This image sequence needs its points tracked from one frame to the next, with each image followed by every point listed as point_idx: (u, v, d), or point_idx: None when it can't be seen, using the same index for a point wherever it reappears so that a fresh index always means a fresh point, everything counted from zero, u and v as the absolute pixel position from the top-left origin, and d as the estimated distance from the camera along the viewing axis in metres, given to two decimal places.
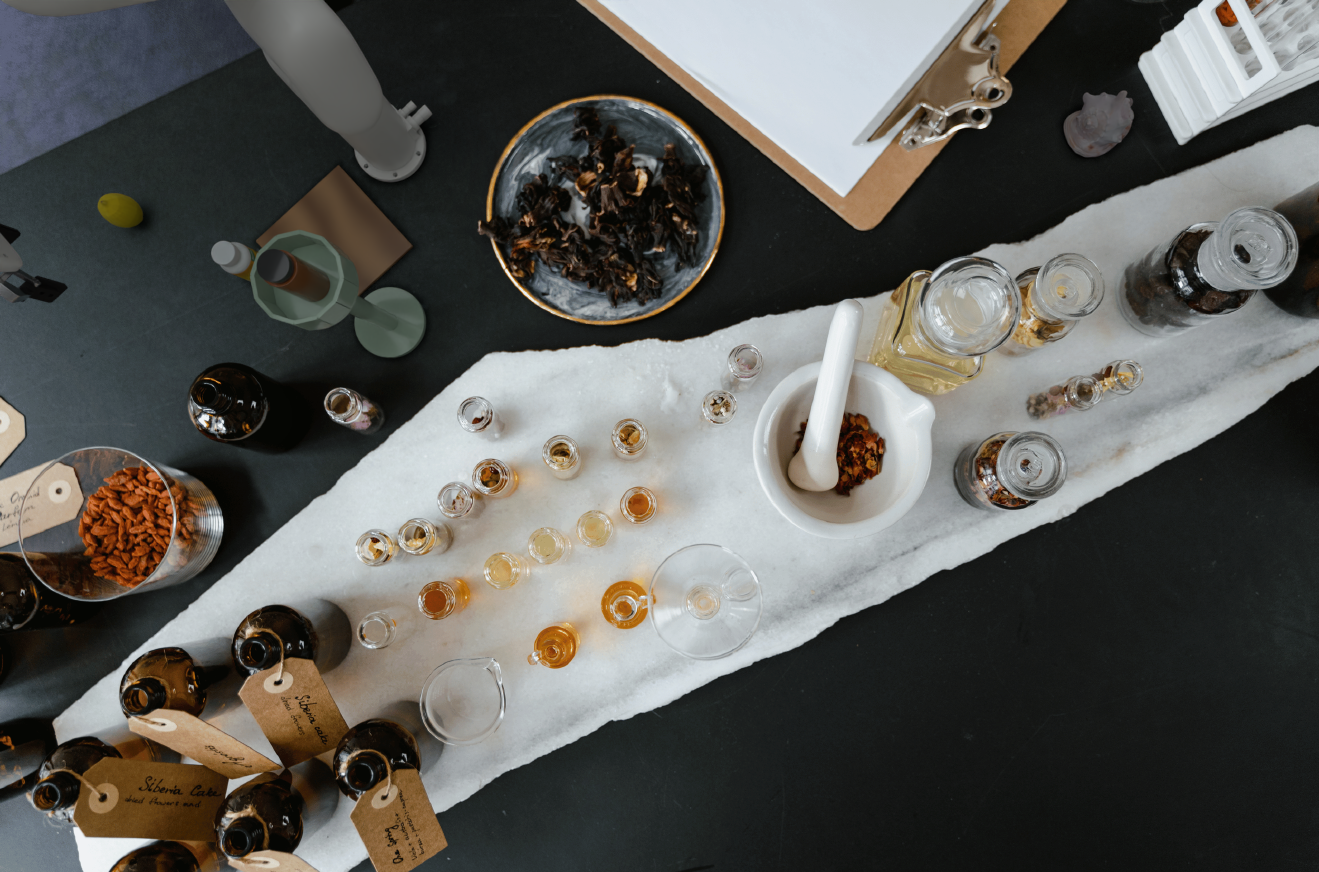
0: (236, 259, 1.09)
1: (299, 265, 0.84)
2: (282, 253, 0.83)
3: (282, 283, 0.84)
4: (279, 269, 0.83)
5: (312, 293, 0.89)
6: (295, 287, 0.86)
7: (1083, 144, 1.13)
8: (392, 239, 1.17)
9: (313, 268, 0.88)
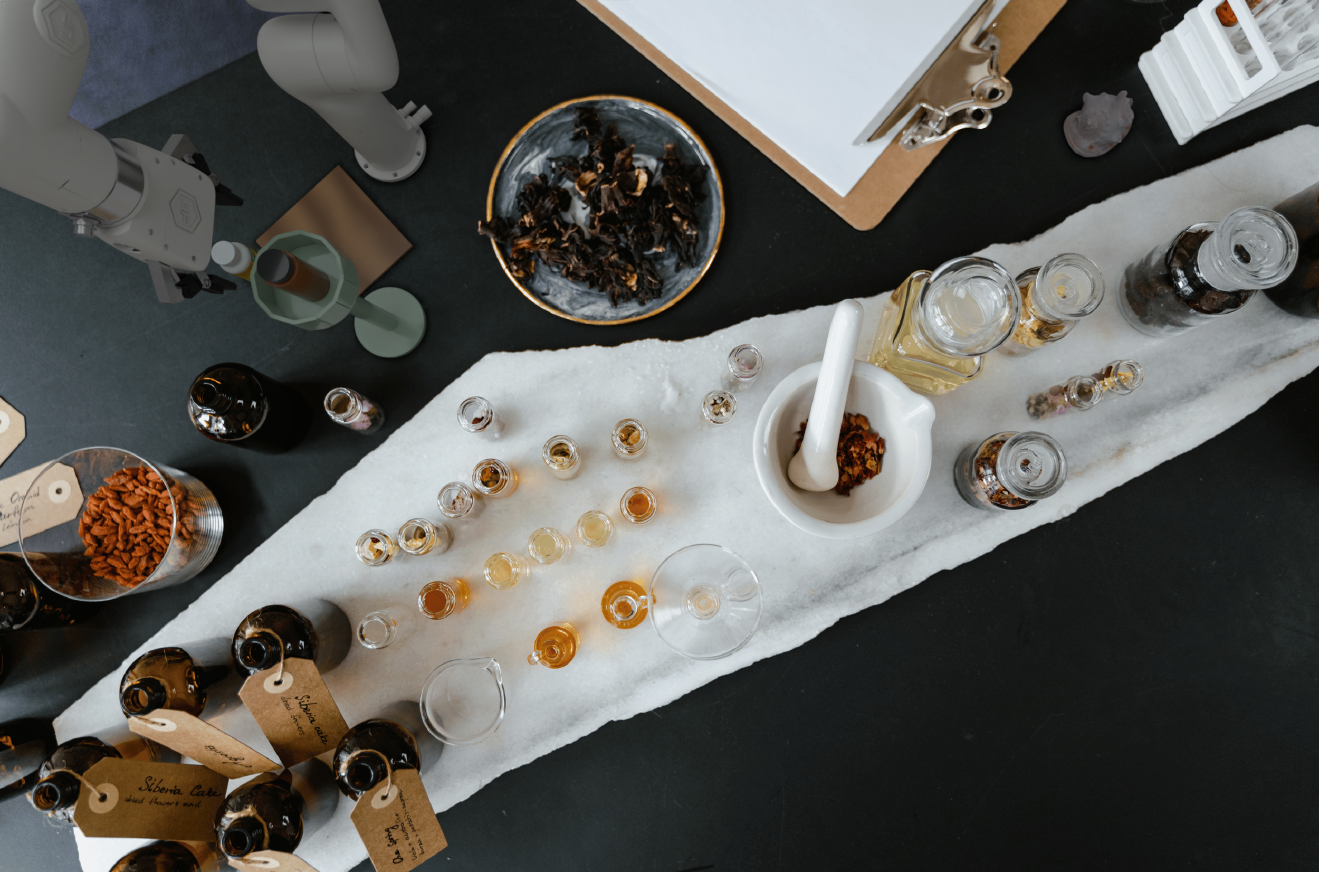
0: (237, 259, 1.09)
1: (299, 265, 0.84)
2: (282, 253, 0.83)
3: (282, 283, 0.84)
4: (279, 269, 0.83)
5: (312, 293, 0.89)
6: (295, 287, 0.86)
7: (1083, 144, 1.13)
8: (392, 239, 1.17)
9: (313, 268, 0.88)
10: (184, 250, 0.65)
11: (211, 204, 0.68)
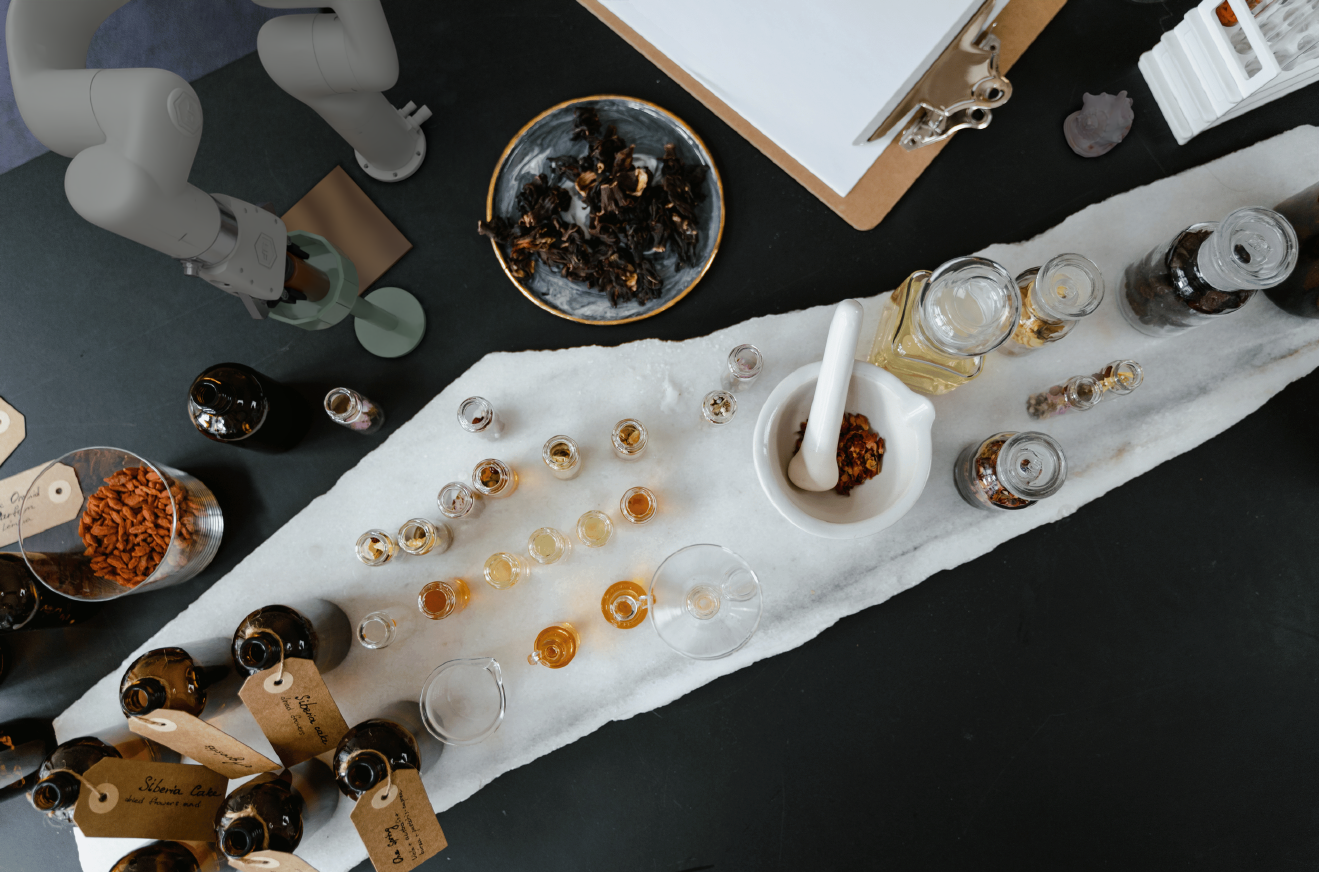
0: None
1: (299, 265, 0.84)
2: None
3: None
4: None
5: (312, 293, 0.89)
6: (295, 287, 0.86)
7: (1083, 144, 1.13)
8: (392, 239, 1.17)
9: (313, 268, 0.88)
10: (264, 283, 0.77)
11: (284, 243, 0.80)
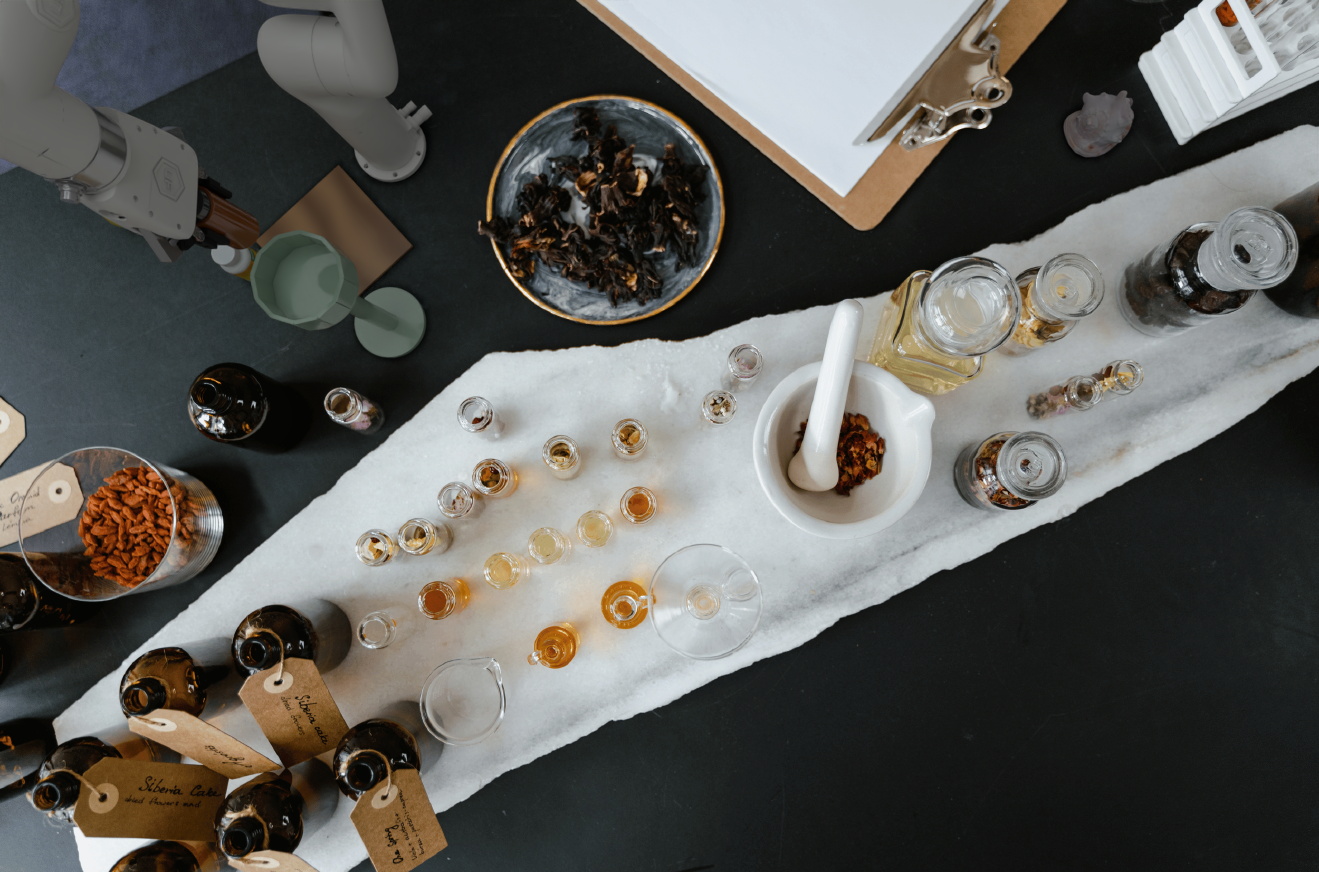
0: (236, 259, 1.09)
1: (217, 203, 0.74)
2: None
3: (197, 223, 0.73)
4: None
5: (238, 238, 0.79)
6: (214, 228, 0.75)
7: (1083, 144, 1.13)
8: (392, 239, 1.17)
9: (237, 209, 0.78)
10: (169, 218, 0.67)
11: (194, 173, 0.70)
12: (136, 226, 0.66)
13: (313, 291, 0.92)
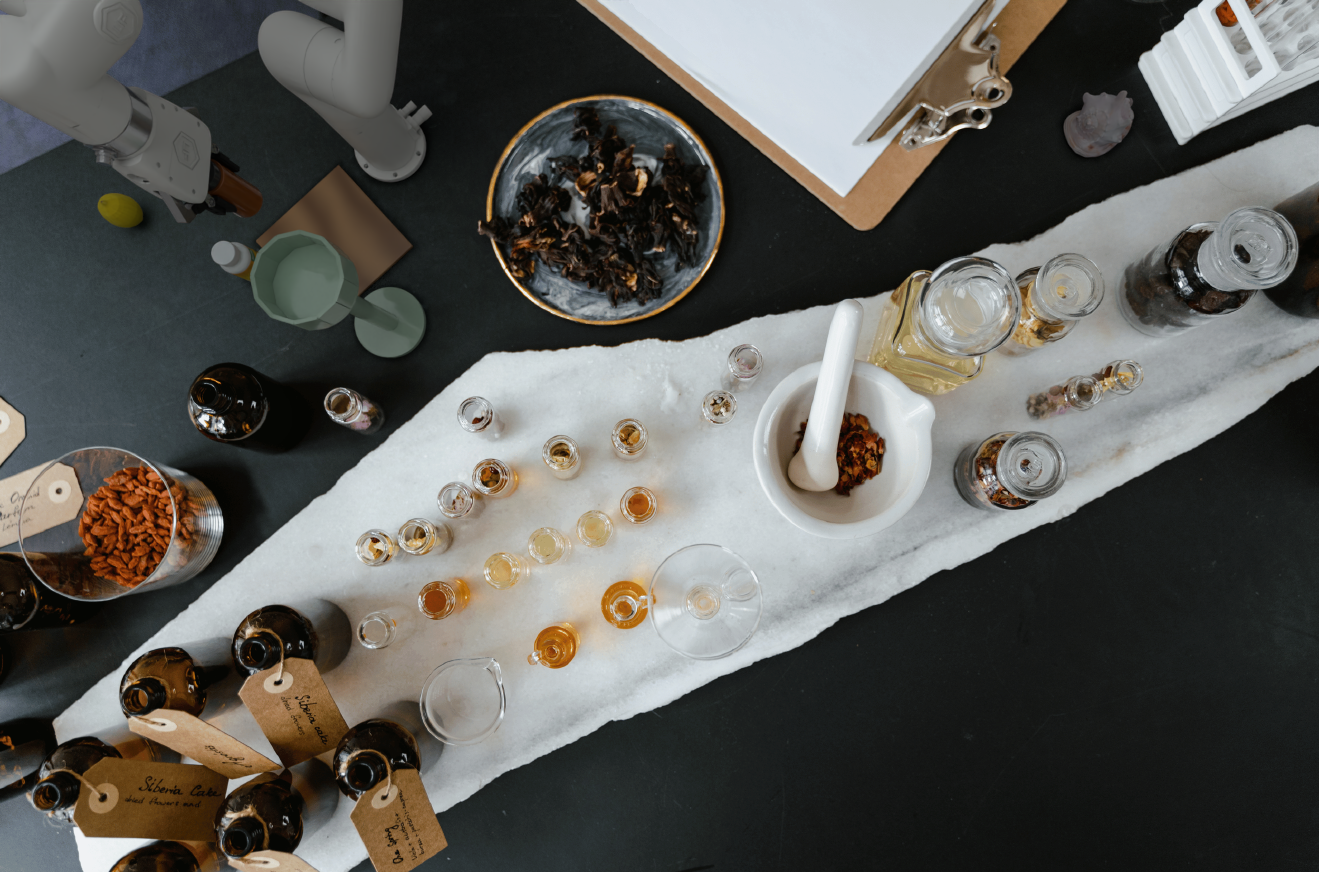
0: (237, 259, 1.09)
1: (226, 174, 0.85)
2: None
3: (209, 191, 0.85)
4: None
5: (243, 206, 0.90)
6: (223, 196, 0.86)
7: (1083, 144, 1.13)
8: (392, 239, 1.17)
9: (243, 181, 0.89)
10: (185, 183, 0.78)
11: (208, 147, 0.81)
12: (157, 189, 0.77)
13: (313, 291, 0.92)
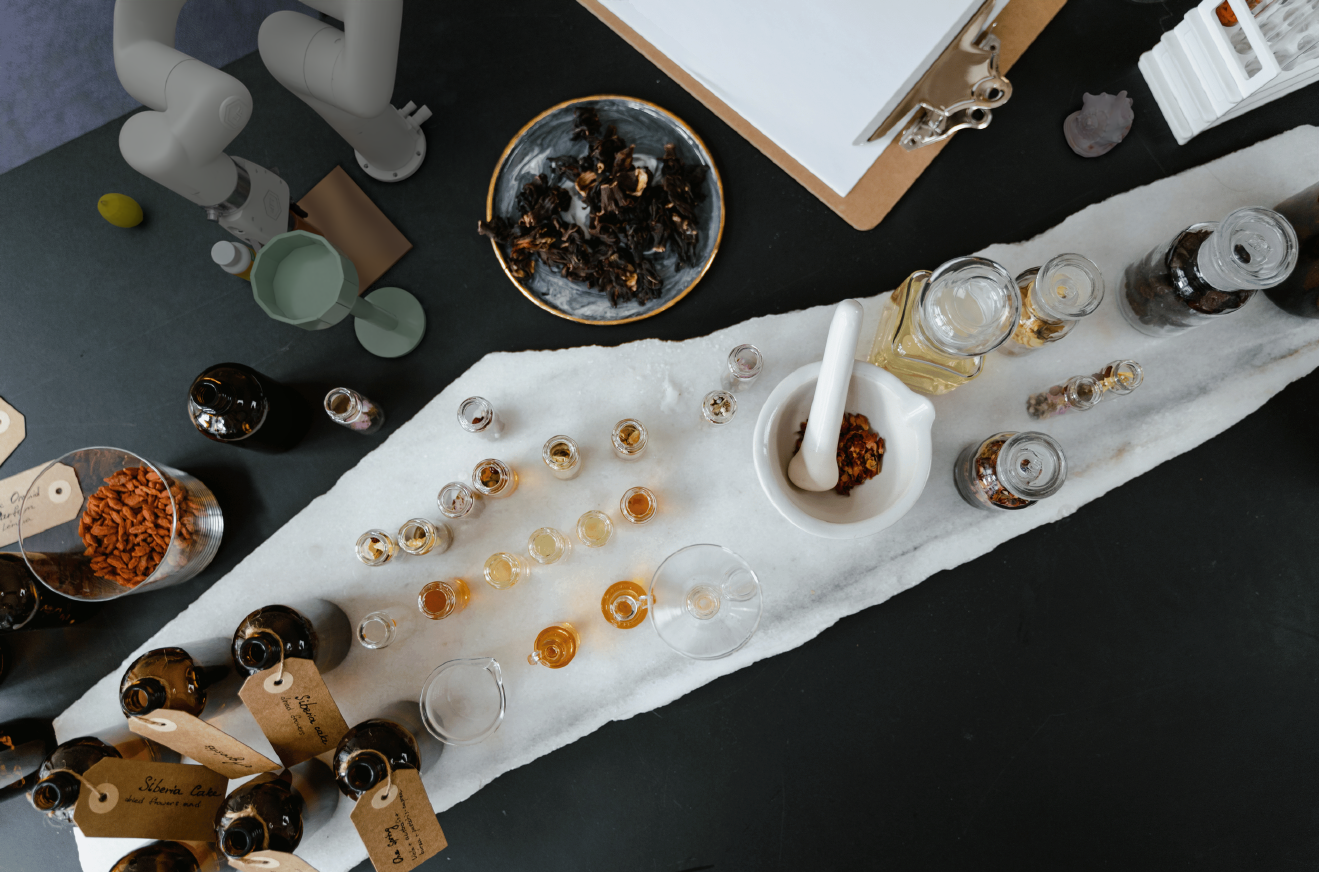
0: (236, 259, 1.09)
1: (299, 221, 1.02)
2: None
3: None
4: None
5: None
6: None
7: (1083, 144, 1.13)
8: (392, 239, 1.17)
9: (311, 225, 1.05)
10: (271, 232, 0.94)
11: (287, 200, 0.98)
12: (249, 237, 0.93)
13: (313, 291, 0.92)
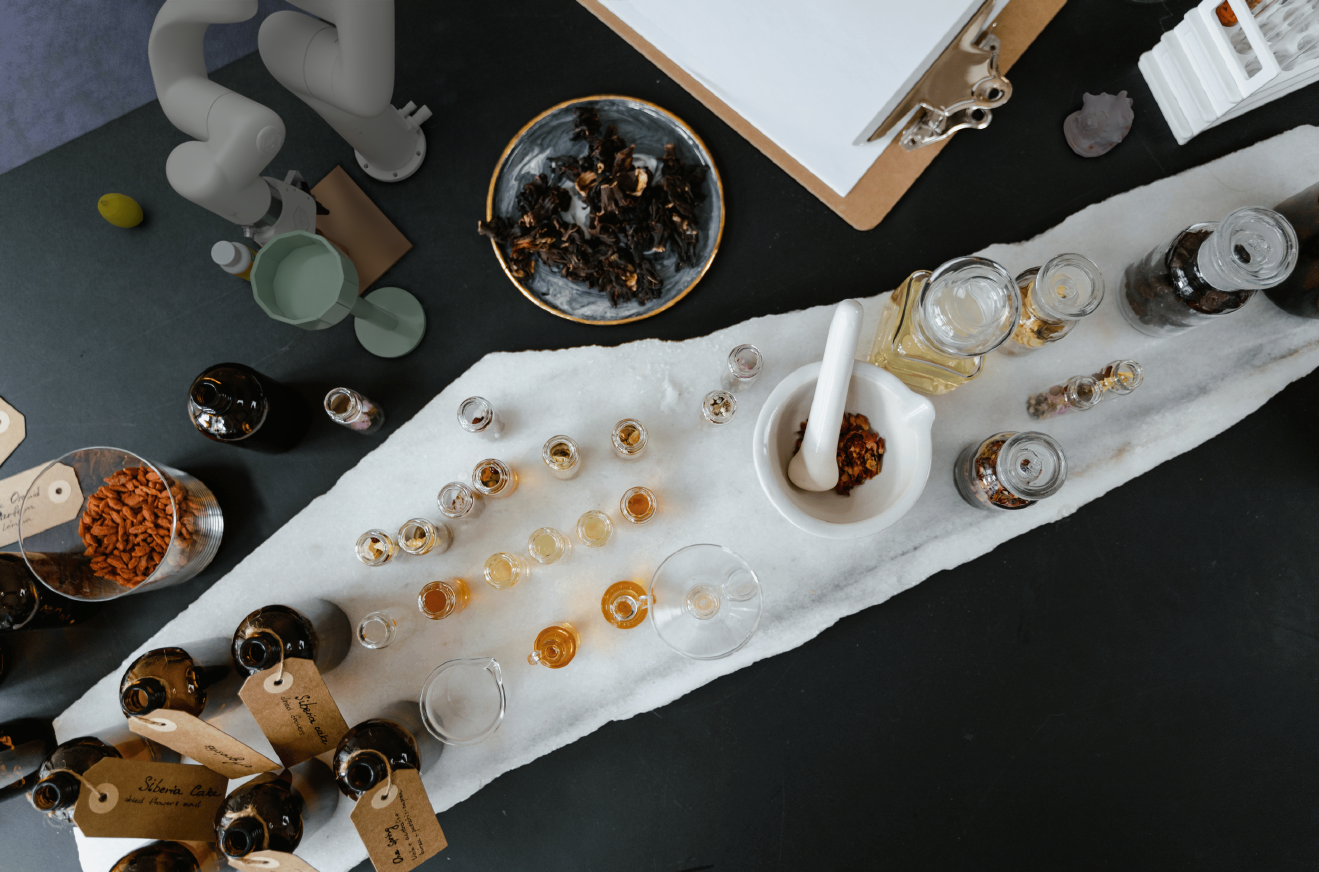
0: (237, 259, 1.09)
1: None
2: None
3: None
4: None
5: None
6: None
7: (1083, 144, 1.13)
8: (392, 239, 1.17)
9: (336, 242, 1.13)
10: None
11: (314, 215, 1.04)
12: None
13: (313, 291, 0.92)
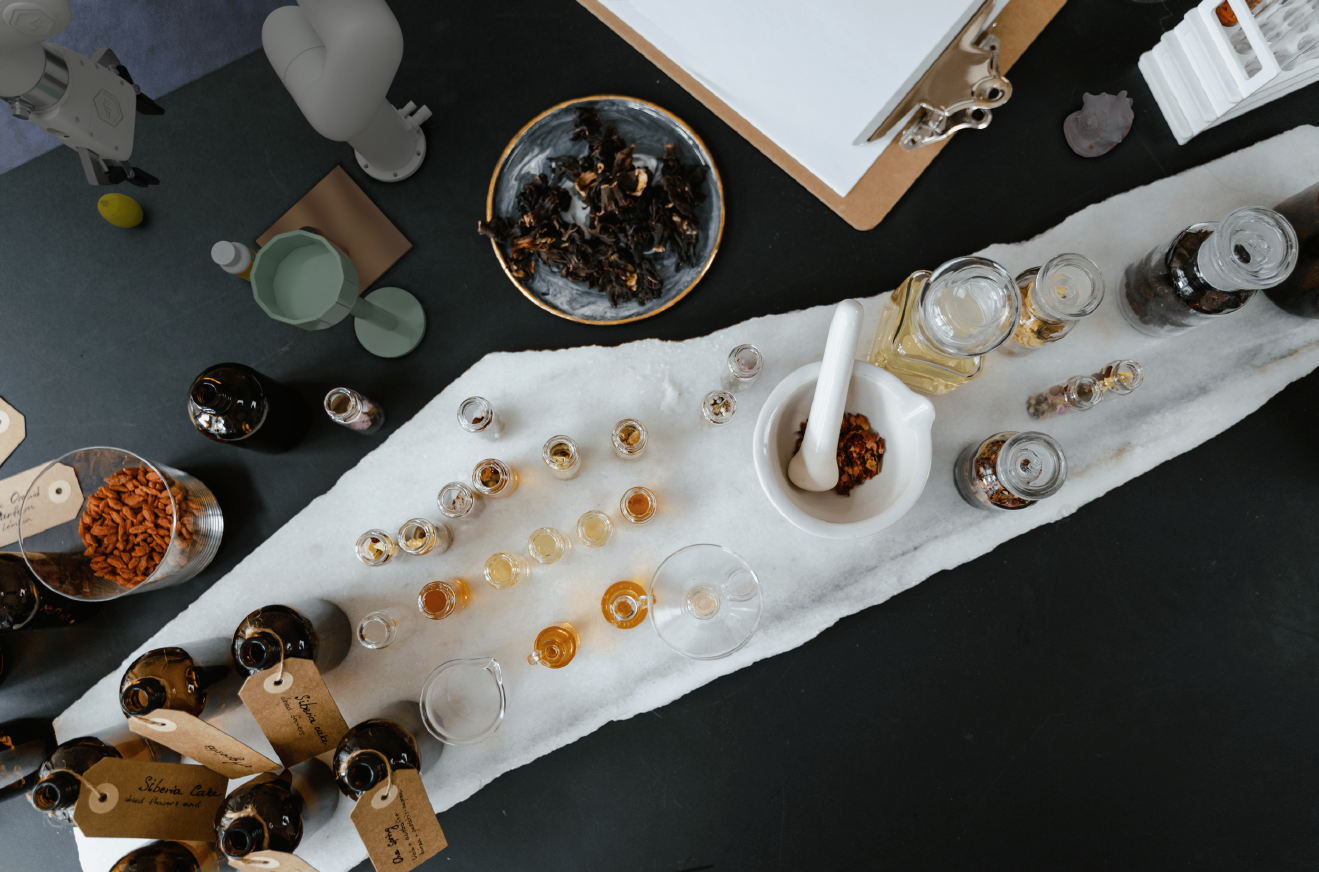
0: (237, 259, 1.09)
1: None
2: (314, 229, 1.08)
3: None
4: None
5: None
6: None
7: (1083, 144, 1.13)
8: (392, 239, 1.17)
9: (336, 242, 1.13)
10: (107, 140, 0.80)
11: (132, 106, 0.83)
12: (79, 145, 0.79)
13: (313, 291, 0.92)
